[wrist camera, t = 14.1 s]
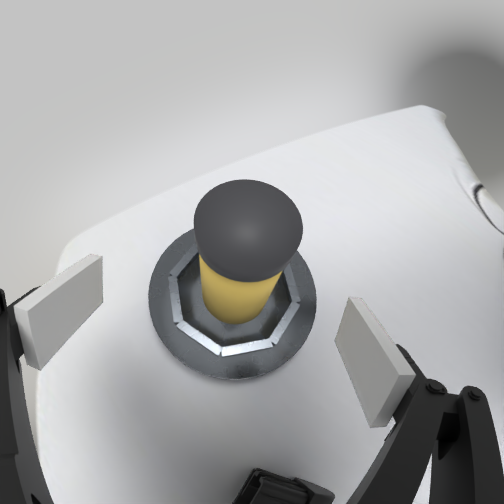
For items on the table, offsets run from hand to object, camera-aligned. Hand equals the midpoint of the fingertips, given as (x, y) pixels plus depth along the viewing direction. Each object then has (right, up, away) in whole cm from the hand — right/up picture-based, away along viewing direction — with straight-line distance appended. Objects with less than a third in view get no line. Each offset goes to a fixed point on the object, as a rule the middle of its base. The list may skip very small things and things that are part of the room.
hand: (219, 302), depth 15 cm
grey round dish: (0, -3, +16) cm, 16 cm away
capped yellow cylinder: (0, -1, +13) cm, 13 cm away
